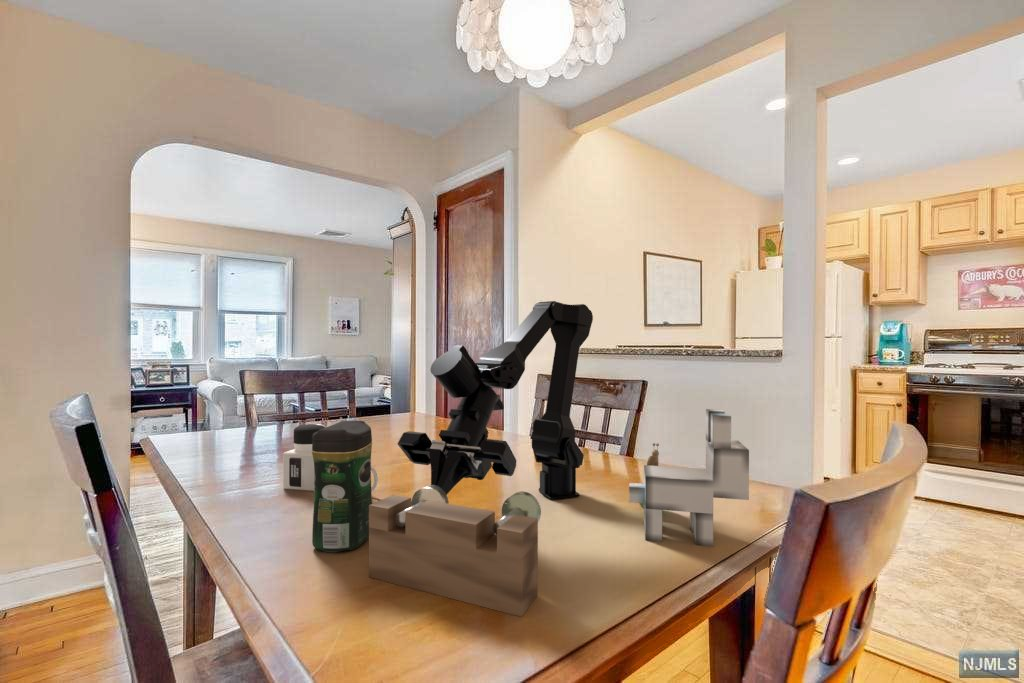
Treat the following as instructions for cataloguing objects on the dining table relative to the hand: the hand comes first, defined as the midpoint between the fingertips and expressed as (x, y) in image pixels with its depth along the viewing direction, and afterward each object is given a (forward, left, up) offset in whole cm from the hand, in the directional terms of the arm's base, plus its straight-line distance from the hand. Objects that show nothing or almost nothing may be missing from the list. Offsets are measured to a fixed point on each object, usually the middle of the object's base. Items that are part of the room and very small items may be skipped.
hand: (434, 502), depth 71 cm
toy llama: (-40, +6, -8) cm, 41 cm away
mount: (0, +9, -8) cm, 12 cm away
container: (+18, -44, -8) cm, 49 cm away
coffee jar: (+12, -10, -8) cm, 18 cm away
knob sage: (-8, +10, -2) cm, 13 cm away
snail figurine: (-42, -5, -8) cm, 43 cm away
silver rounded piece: (+3, +3, -2) cm, 5 cm away
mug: (+10, -34, -8) cm, 37 cm away
